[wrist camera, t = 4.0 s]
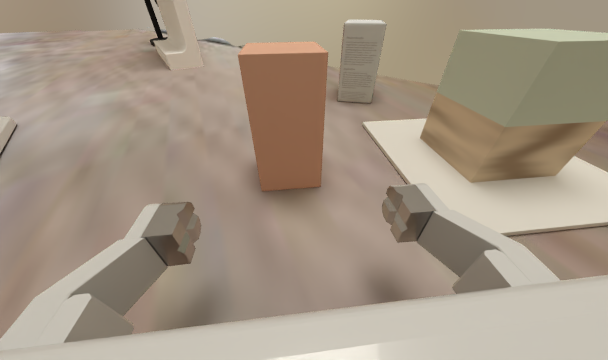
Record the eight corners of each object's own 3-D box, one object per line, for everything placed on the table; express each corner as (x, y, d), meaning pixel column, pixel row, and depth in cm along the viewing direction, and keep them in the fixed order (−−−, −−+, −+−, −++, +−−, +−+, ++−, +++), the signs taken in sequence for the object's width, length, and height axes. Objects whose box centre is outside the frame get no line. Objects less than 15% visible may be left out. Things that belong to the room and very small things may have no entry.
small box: (340, 87, 41) (347, 19, 34) (370, 89, 40) (383, 19, 33) (336, 101, 35) (343, 21, 28) (371, 104, 34) (387, 21, 27)
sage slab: (505, 127, 15) (558, 41, 12) (436, 92, 21) (459, 30, 18) (606, 121, 15) (682, 38, 12) (511, 88, 22) (545, 28, 18)
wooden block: (470, 182, 18) (505, 127, 15) (419, 137, 24) (436, 92, 21) (555, 175, 19) (606, 121, 15) (484, 133, 25) (511, 88, 22)
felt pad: (451, 241, 14) (453, 237, 14) (361, 124, 28) (362, 122, 28) (684, 217, 15) (691, 213, 15) (489, 117, 29) (490, 115, 29)
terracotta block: (261, 191, 18) (237, 54, 12) (263, 158, 22) (246, 43, 15) (320, 186, 18) (328, 52, 12) (312, 155, 22) (314, 41, 16)
